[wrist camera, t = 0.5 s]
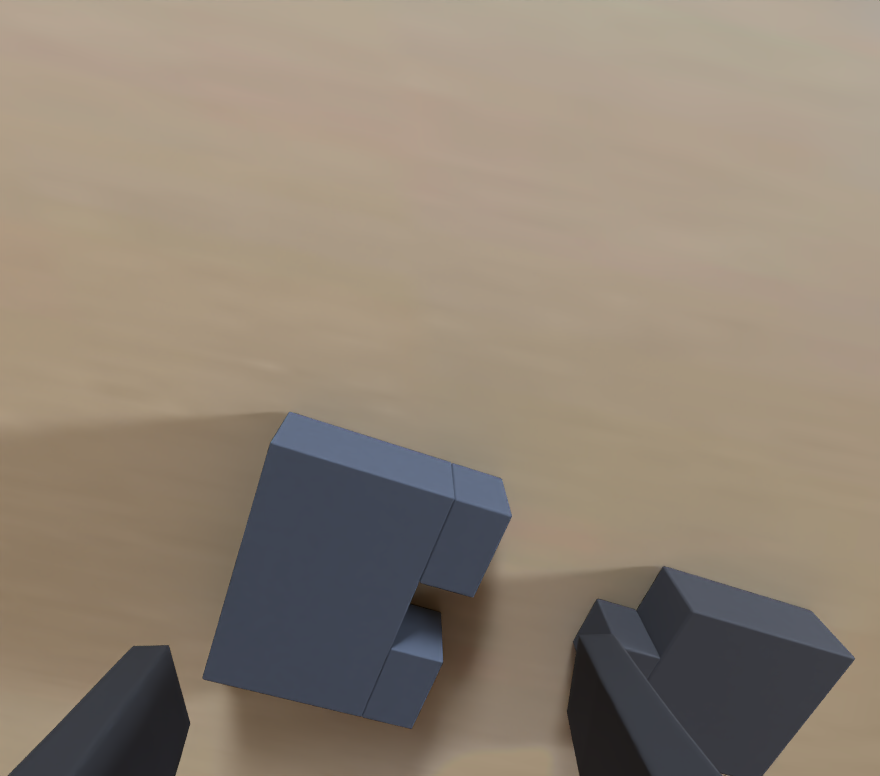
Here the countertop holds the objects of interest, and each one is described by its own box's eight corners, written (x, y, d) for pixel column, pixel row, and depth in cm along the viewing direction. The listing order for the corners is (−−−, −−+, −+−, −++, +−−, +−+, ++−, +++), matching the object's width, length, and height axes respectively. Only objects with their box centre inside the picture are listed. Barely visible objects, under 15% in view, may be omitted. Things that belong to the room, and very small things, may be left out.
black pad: (725, 726, 25) (757, 783, 22) (549, 681, 23) (563, 736, 21) (811, 609, 22) (857, 658, 20) (622, 552, 21) (647, 597, 19)
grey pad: (412, 674, 23) (411, 729, 21) (225, 627, 22) (201, 679, 19) (502, 477, 20) (513, 516, 18) (289, 410, 19) (270, 442, 16)
